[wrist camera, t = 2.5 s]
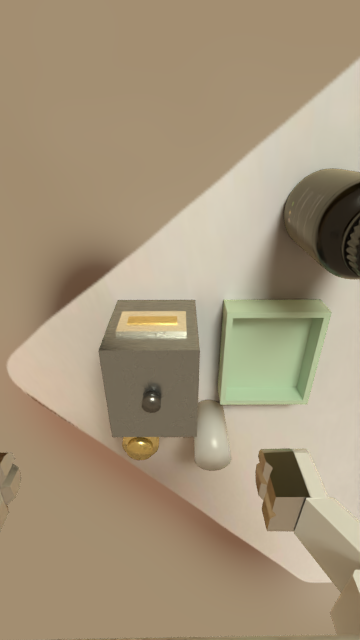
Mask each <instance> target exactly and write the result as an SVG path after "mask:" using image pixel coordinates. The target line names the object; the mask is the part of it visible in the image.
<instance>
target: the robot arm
mask: <svg viewBox="0 0 360 640" xmlns="http://www.w3.org/2000/svg"><path fill="white" fill-rule="evenodd" d="M258 457H259V461H260V463H258V464H257V465H256V485H257V490H258V495H259V496H260V497H261V498H262V499H263V500H264V501H263V506H262V512H263V516H264V521H265V525H266V529H267V531H294V534H295V535H296V536H297V537H298V539H299V540H300V541H301V543H302V544H303V545H304V546H305V548H306V549H307V550H308V551H309V553H310V554H311V555H312V557H313V558H314V559H315V560H316V562H317V563H318V564H319V565H320V567H321V568H322V569H323V571H324V572H325V573H326V574H327V576H328V577H329V578H330V580H331V581H332V582H333V583H334V585H335V586H336V587H337V588H338V590H339V591H340V592H341V594H340V596H339V598H338V599H337V601H336V602H335V604H334V606H333V608H332V609H331V612H330V615H331V618H332V621H333V624H334V627H335V631H336V634H337V635H283V636H230V637H229V636H228V637H227V636H225V637H173V638H172V637H167V638H117V639H116V638H115V639H114V638H111V639H57V640H360V521H359V520H358V519H356V518H355V517H354V516H353V515H352V514H351V513H350V512H349V511H348V510H347V509H346V508H344V507H343V506H342V505H341V504H340V503H339V502H338V501H337V500H336V499H335V498H329V497H328V494H327V492H326V490H325V487H324V485H323V483H322V481H321V478H320V476H319V474H318V471H317V469H316V467H315V464H314V462H313V460H312V457H311V455H310V453H309V451H308V450H307V449H261V450H260V451H259V455H258ZM14 460H15V458H14V456H13V453H8V452H5V453H4V452H0V531H1V529H2V527H3V525H4V522H5V520H6V518H7V515H8V513H9V510H8V506H7V505H8V504H9V503H10V502H11V501H13V500H14V499H15V498H16V495H17V493H18V490H19V487H20V482H21V472H20V470H19V468H18V467H17V466H16V465H14V464H13V462H14ZM54 640H55V639H54Z"/></svg>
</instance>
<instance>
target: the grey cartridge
mask: <svg viewBox="0 0 360 640" xmlns="http://www.w3.org/2000/svg"><path fill="white" fill-rule="evenodd" d="M194 454H195V463H196V464H197V466H199V467H200V468H202V469H204V470H209V471H215V470H220V469H223V468H225V467H226V466H227V465H228V464H229V463H230V461H231V453H230V447H229V441H228V434H227V428H226V422H225V416H224V410H223V407H222V405H220V403H218V402H217V401H214V400H204V401H201V402H199V403H198V418H197V437H194Z"/></svg>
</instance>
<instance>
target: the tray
mask: <svg viewBox="0 0 360 640" xmlns="http://www.w3.org/2000/svg"><path fill="white" fill-rule="evenodd" d="M331 313H332V312H331V311H330V310H329V309H328V308H327V306H326V305H325V304H324V303H323V302H322V301H321V300H320V299H315V300H224V305H223V319H222V333H221V347H220V360H219V374H218V394H219V401H220V405H251V404H307V403H308V399H309V395H310V392H311V388H312V384H313V380H314V377H315V373H316V369H317V365H318V362H319V358H320V354H321V350H322V347H323V343H324V339H325V335H326V332H327V328H328V324H329V320H330V317H331Z"/></svg>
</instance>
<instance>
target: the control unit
mask: <svg viewBox="0 0 360 640" xmlns="http://www.w3.org/2000/svg"><path fill="white" fill-rule="evenodd" d="M99 357H100V363H101V369H102V375H103V382H104V388H105V394H106V400H107V407H108V413H109V419H110V425H111V431H112V437H197V418H198V387H199V357H200V348H199V337H198V327H197V316H196V306H195V300H118V301H117V304H116V306H115V309H114V312H113V314H112V317H111V319H110V322H109V325H108V327H107V330H106V332H105V335H104V338H103V340H102V343H101V345H100V348H99Z"/></svg>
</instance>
